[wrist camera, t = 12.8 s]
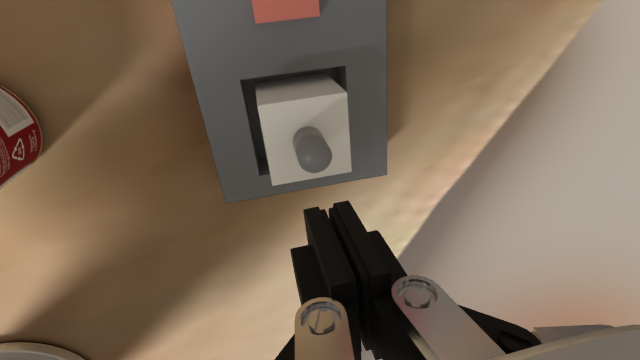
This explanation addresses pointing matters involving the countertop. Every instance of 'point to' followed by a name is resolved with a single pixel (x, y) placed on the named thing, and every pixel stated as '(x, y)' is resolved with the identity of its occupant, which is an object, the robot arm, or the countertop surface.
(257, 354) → the countertop surface
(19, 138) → the soda can
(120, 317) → the countertop surface
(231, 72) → the socket plate
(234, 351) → the countertop surface
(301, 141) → the plug
